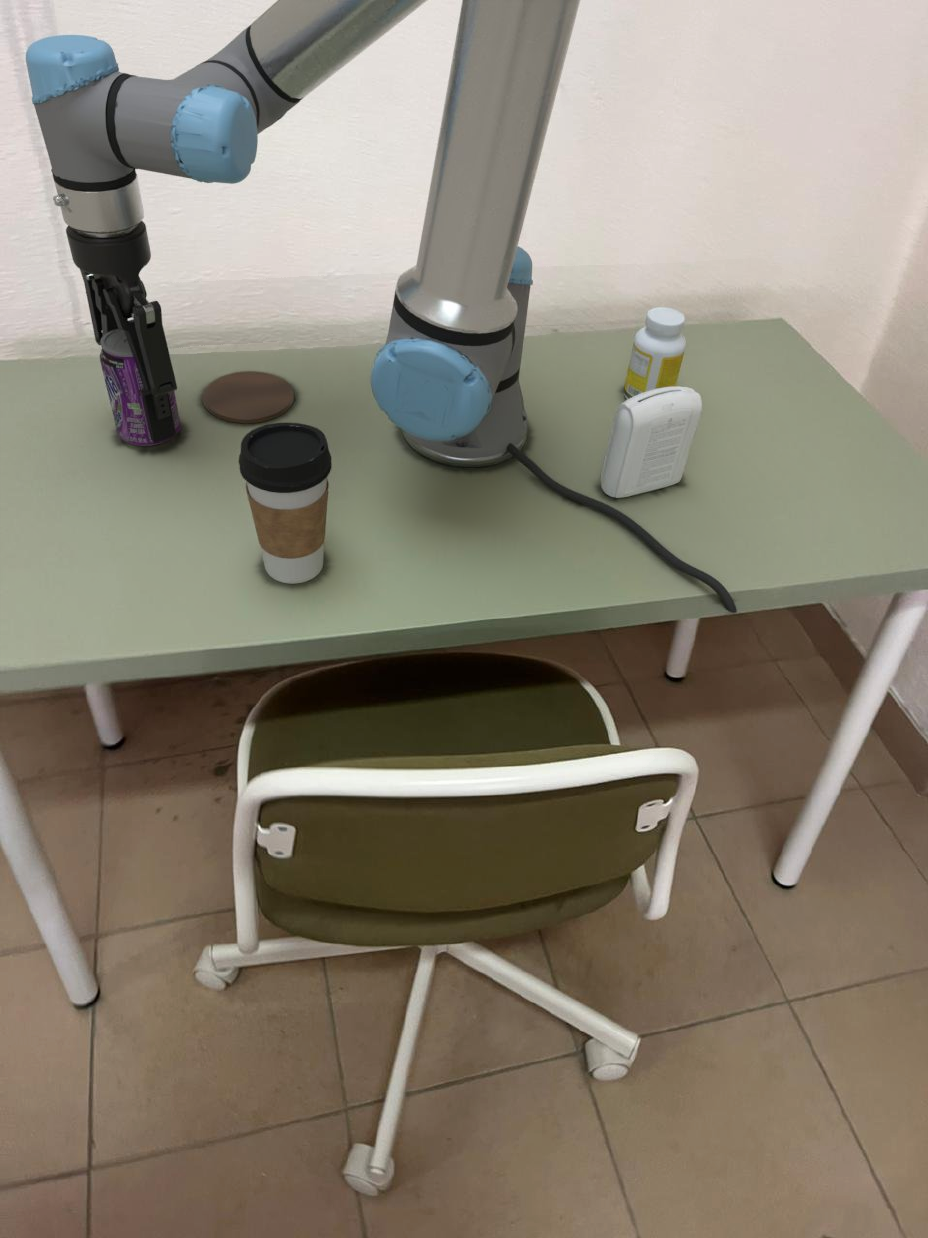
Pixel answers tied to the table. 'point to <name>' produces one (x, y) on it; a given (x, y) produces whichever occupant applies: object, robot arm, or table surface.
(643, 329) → the pill bottle
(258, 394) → the coaster
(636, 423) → the photo printer
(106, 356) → the beverage can
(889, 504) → the table surface
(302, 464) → the coffee cup
